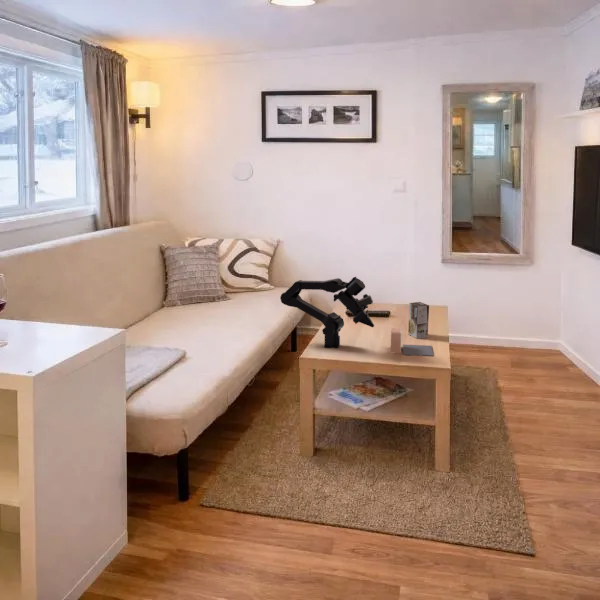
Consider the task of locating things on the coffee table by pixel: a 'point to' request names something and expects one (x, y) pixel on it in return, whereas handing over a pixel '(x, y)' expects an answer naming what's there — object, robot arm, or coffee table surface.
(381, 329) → the coffee table surface
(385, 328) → the coffee table surface
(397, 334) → the pinkish brown block
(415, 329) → the coffee box
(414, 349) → the mat
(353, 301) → the robot arm
